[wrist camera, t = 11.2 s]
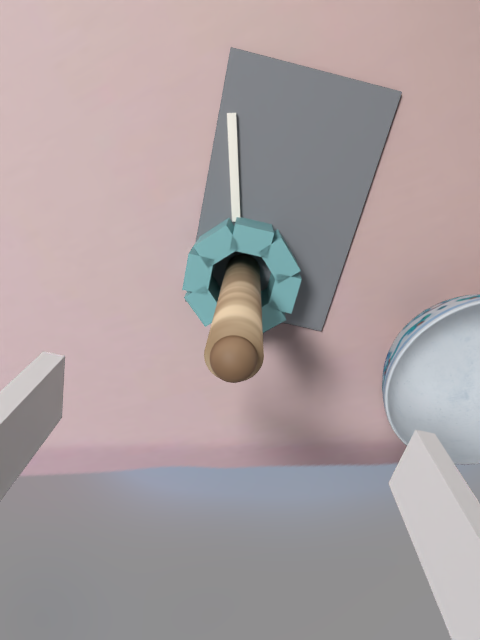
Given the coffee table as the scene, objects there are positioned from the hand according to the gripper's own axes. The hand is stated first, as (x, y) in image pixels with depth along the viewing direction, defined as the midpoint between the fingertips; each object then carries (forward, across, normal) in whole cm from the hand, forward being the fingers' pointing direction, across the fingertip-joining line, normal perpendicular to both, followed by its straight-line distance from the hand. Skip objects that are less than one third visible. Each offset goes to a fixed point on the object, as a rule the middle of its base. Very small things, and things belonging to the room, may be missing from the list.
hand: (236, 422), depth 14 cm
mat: (+22, +2, +6) cm, 23 cm away
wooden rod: (+22, 0, 0) cm, 22 cm away
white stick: (+22, -3, +8) cm, 23 cm away
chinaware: (+22, +20, -3) cm, 30 cm away
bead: (+22, 0, 0) cm, 22 cm away
